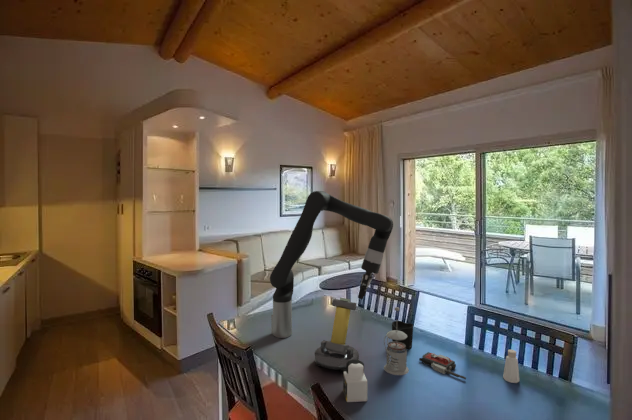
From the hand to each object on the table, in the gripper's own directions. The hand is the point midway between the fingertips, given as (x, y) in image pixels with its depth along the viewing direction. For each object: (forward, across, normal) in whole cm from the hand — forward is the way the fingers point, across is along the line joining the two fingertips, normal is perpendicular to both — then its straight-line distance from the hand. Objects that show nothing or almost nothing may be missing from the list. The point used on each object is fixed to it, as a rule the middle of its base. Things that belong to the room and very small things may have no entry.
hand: (361, 296), depth 151 cm
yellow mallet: (+22, +8, -3) cm, 24 cm away
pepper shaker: (+10, +3, +62) cm, 63 cm away
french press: (+22, +4, +21) cm, 30 cm away
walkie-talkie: (+16, 0, +40) cm, 43 cm away
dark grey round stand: (+28, +7, -1) cm, 29 cm away
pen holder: (+18, -17, +23) cm, 34 cm away
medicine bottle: (+28, +27, +10) cm, 40 cm away
